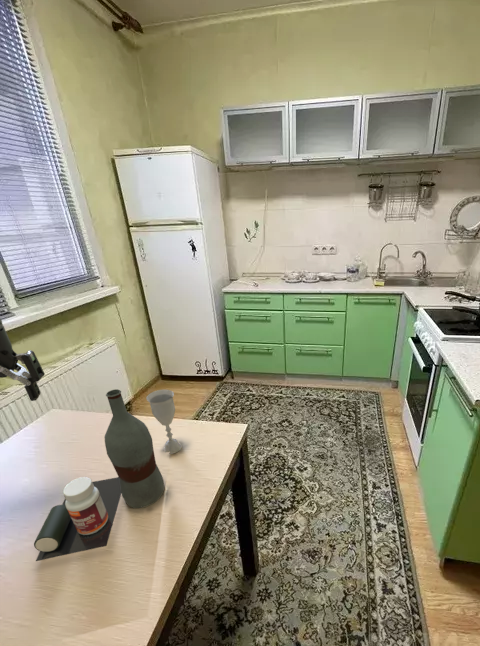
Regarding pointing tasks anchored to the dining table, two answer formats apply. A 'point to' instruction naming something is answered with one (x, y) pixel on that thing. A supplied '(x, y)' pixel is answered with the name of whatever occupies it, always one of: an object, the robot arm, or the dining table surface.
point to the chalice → (164, 415)
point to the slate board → (79, 542)
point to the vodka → (132, 455)
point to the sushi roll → (53, 529)
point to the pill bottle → (85, 506)
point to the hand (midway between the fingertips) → (12, 401)
